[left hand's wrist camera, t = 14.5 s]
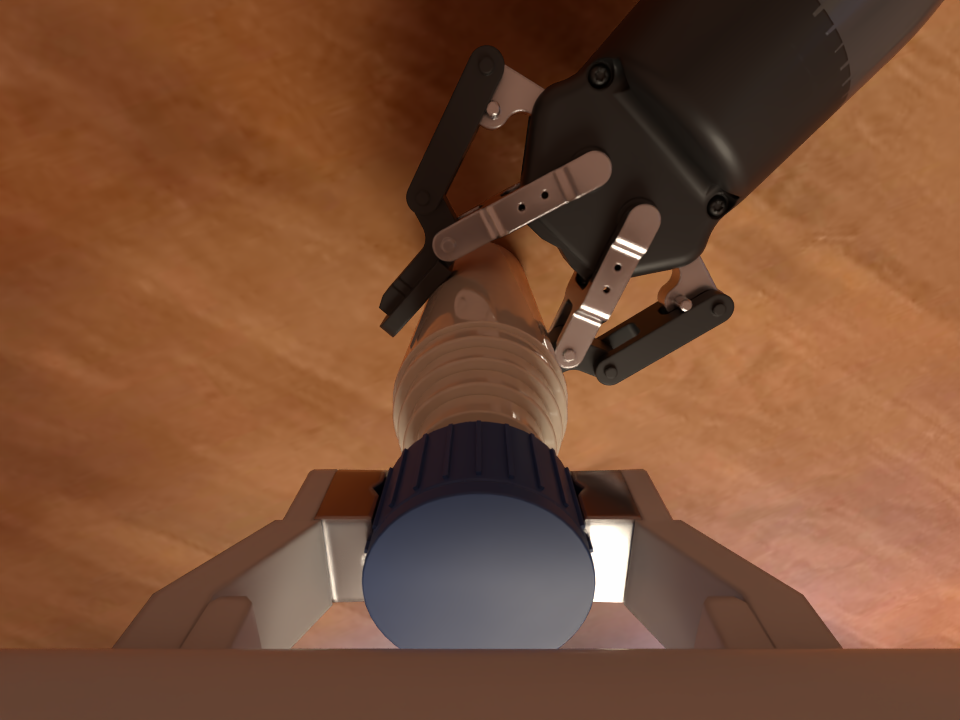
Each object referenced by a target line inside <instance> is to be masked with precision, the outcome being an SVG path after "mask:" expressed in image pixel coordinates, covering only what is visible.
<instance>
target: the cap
mask: <svg viewBox="0 0 960 720" xmlns="http://www.w3.org/2000/svg"><path fill="white" fill-rule="evenodd" d="M584 528H586V527H585V523H584V520H583V516H582V513H581V509H580V506H579V502H578V499H577V495H576V492H575V488H574V485H573V481H572V478H571V474H570V471H569V469H568V467H566V468H565V467H564V465H563V464H562V462H561V461H560V459H559V458H558V457H557V456H556V452H555V450H554V449H553V448H551V449H550V448H549V447H548V446H547V445H546V444H544V443H543V442H542V441H541V440H539V439H538V438H536V437H535V435H534V434H532V433H530V434H529V433H527V432H525V431H523V430H520V429H518V428H515V427H513V426H509V424H506V423H505V424H501V423H495V422H487V421H481V420H477V421H469V422H462V423H457V424H453V423H452V424H448V426H446V427H443V428H440V429H437V430H435V431H432V432H430V433H429V434H427V433H425V434H424V435H423V437H422V438H421V439H419V440H418V441H416V442H415V443H414V444H412V445H411V446H410V447H409V448H408V449H406V448H405V449H404V450H403V451H402V455H401V457H400V458H399V459H398V461H397V462H396V464H395V465H394V467H393V468H391V467H390V468H389V470H388V474H387V477H386V481H385V484H384V488H383V491H382V494H381V498H380V501H379V505H378V508H377V511H376V515H375V518H374V522H373V525H372V529H374V530H373V534H372V537H371V541H367V542H366V545H365V549H364V553H367V555H366V558H365V562H364V566H363V571H362V592H363V596H364V600H365V604H366V607H367V609H368V612H369V614H370V616H371V618H372V619H373V621H374V623H375V624H376V626H377V627H378V628H379V630H380V631H381V632H382V633H383V634H384V636H385V637H386V638H388V639H389V640H390V641H391V642H392V643H393V644H394V645H395V646H397V647H398V648H400V649H558V648H560V647H561V646H562V645H563V644H564V643H566V642H567V641H568V640H569V639H570V638H571V637H572V636H573V635H574V634H575V633H576V632H577V631H578V629H579V628H580V627H581V625H582V624H583V622H584V621H585V619H586V617H587V615H588V613H589V611H590V609H591V606H592V602H593V599H594V595H595V587H596V574H595V568H594V563H593V559H592V556H591V553H593V552H594V551H593V546H592V543H591V541H587V538H586V534H585V532H584Z"/></svg>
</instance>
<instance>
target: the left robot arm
mask: <svg viewBox="0 0 960 720" xmlns="http://www.w3.org/2000/svg"><path fill="white" fill-rule="evenodd" d="M387 474H388V471H387V470H337V469H314V470H312V471H310V472H309V474H308V475H307V477H306V479H305V481H304V483H303V485H302V486H301V488H300V490H299V492H298V494H297V495H296V497H295V499H294V501H293V503H292V504H291V506H290V508H289V510H288V512H287V514H286V515H285V517H284V519H283V520H275V521H273V522H271V523H270V524H268V525H267V526H265V527H263V528H262V529H260V530H258V531H257V532H255V533H253V534H252V535H250V536H248V537H247V538H245V539H243V540H242V541H240V542H238V543H237V544H235V545H233V546H232V547H230V548H228V549H227V550H225V551H223V552H222V553H220V554H219V555H217V556H215V557H214V558H212V559H210V560H209V561H207V562H205V563H204V564H202V565H200V566H199V567H197V568H195V569H194V570H192V571H190V572H189V573H187V574H185V575H184V576H182V577H180V578H179V579H177V580H175V581H174V582H172V583H171V584H169V585H167V586H166V587H164V588H162V589H161V590H159V591H157V592H156V593H154V594H153V595H152V596H151V597H150V599H149V600H148V601H147V603H146V604H145V605H144V607H143V608H142V609H141V611H140V612H139V613H138V615H137V616H136V617H135V619H134V620H133V621H132V622H131V624H130V625H129V626H128V628H127V629H126V630H125V632H124V633H123V634H122V636H121V637H120V638H119V640H118V641H117V642H116V644H115V645H114V646H113V648H112V649H0V720H960V649H843V648H842V647H841V645H840V644H839V643H838V641H837V640H836V638H835V637H834V636H833V634H832V633H831V632H830V630H829V629H828V628H827V626H826V625H825V624H824V622H823V621H822V620H821V618H820V617H819V616H818V614H817V613H816V611H815V610H814V609H813V607H812V606H811V605H810V603H809V602H808V601H807V599H806V598H805V597H804V595H803V594H801V593H799V592H798V591H796V590H794V589H793V588H791V587H789V586H788V585H786V584H785V583H783V582H781V581H780V580H778V579H776V578H775V577H773V576H771V575H770V574H768V573H767V572H765V571H763V570H762V569H760V568H758V567H757V566H755V565H753V564H752V563H750V562H749V561H747V560H745V559H744V558H742V557H740V556H739V555H737V554H735V553H734V552H732V551H731V550H729V549H727V548H726V547H724V546H722V545H721V544H719V543H717V542H716V541H714V540H713V539H711V538H709V537H708V536H706V535H704V534H703V533H701V532H699V531H698V530H696V529H695V528H693V527H691V526H690V525H688V524H686V523H685V522H683V521H681V520H673V519H672V517H671V515H670V513H669V511H668V509H667V508H666V506H665V504H664V502H663V500H662V499H661V497H660V495H659V493H658V491H657V489H656V488H655V486H654V484H653V482H652V480H651V478H650V477H649V475H648V473H647V471H645V470H644V469H630V470H605V471H570V474H571V478H572V481H573V485H574V488H575V492H576V495H577V499H578V502H579V506H580V509H581V513H582V516H583V520H584V523H585V527H586V528H584V532H585V534H586V538H587V541H591V543H592V546H593V551H594V552H593V553H591V556H592V559H593V563H594V568H595V574H596V587H595V595H594V599H593V602H624V605H625V606H626V607H627V608H628V609H629V610H630V611H631V612H632V613H633V615H634V616H635V617H636V618H637V619H638V620H639V621H640V622H641V623H642V624H643V625H644V626H645V627H646V628H647V629H648V630H649V631H650V632H651V633H652V634H653V635H654V637H655V638H656V639H657V640H658V641H659V642H660V643H661V644H662V645H663V646H664V647H665V648H666V649H290V648H291V647H292V646H293V645H294V644H295V643H296V642H297V641H298V640H299V639H300V638H301V637H302V636H303V635H304V634H305V633H306V632H307V631H308V630H309V629H310V628H311V627H312V626H313V625H314V624H315V623H316V622H317V620H318V619H319V618H320V617H321V616H322V615H323V614H324V613H325V612H326V611H327V610H328V609H329V608H330V607H331V606H332V602H362V601H365V600H364V596H363V592H362V571H363V566H364V562H365V558H366V555H367V553H364V549H365V545H366V542H367V541H371V537H372V534H373V530H374V529H372V525H373V522H374V518H375V515H376V511H377V508H378V505H379V501H380V498H381V494H382V491H383V488H384V484H385V481H386V477H387Z"/></svg>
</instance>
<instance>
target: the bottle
mask: <svg viewBox="0 0 960 720" xmlns="http://www.w3.org/2000/svg"><path fill="white" fill-rule="evenodd" d="M454 262H455V263H454V267H453V271H452V273H451V274H450V275H449V276H448V278H447V279H446V280H445V281H444V282H443V283H442V284H441V285H440V286H439V287H438V288H437V289H436V290H435V291H434V292H433V294H432V295H431V296H430V298H429V299H428V300H427V301H426V304H425V306H424V309H423V311H422V314H421V316H420V319H419V321H418V324H417V326H416V329H415V331H414V334H413V336H412V339H411V341H410V344H409V346H408V349H407V351H406V354H405V356H404V359H403V361H402V364H401V366H400V369H399V371H398V374H397V377H396V380H395V385H394V390H393V423H394V429H395V432H396V436H397V438H398V441H399V445H400V449H401V452H402V451H403V450H404V449H405V448H406V449H408V448H409V447H410V446H411V445H412V444H414V443H415V442H416V441H418V440H419V439H421V438H422V437H423V435H424V434H425V433H427V434H429V433H430V432H432V431H435V430H437V429H440V428H443V427H446V426H448V424H452V423H453V424H457V423H462V422H469V421H477V420H481V421H487V422H495V423H501V424H505V423H506V424H509V426H513V427H515V428H518V429H520V430H523V431H525V432H527V433H529V434H530V433H532V434H534V435H535V437H536V438H538V439H539V440H541V441H542V442H543V443H544V444H546V445H547V446H548V447H549V448H550V449H551V448H553V449H554V450H555V452H556V456H558V453H559V450H560V447H561V442H562V440H563V437H564V434H565V431H566V426H567V420H568V408H567V407H568V393H567V386H566V382H565V378H564V375H563V372H562V370H561V367H560V364H559V362H558V359H557V357H556V354H555V351H554V349H553V346H552V343H551V341H550V338H549V336H548V333H547V330H546V328H545V325H544V322H543V320H542V317H541V315H540V312H539V309H538V307H537V304H536V301H535V299H534V296H533V293H532V291H531V288H530V286H529V283H528V280H527V278H526V275H525V272H524V270H523V268H522V266H521V264H520V262H519V261H518V259H517V258H516V257H515V256H514V255H513V254H512V253H511V252H510V251H508V250H507V249H506V248H504V247H502V246H500V245H497V244H495V243H491V242H489V243H487V244H485V245H483V246H481V247H479V248H477V249H475V250H474V251H472V252H470V253H468V254H466V255H464V256H462V257H460V258H458V259H457V260H455V261H454Z"/></svg>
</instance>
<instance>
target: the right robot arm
mask: <svg viewBox="0 0 960 720" xmlns="http://www.w3.org/2000/svg"><path fill="white" fill-rule="evenodd" d="M943 1H944V0H640V1H639V2H638V3H637V4H636V6H635V7H634V8H633V9H632V10H631V11H630V12H629V14H628V15H627V16H626V17H625V18H624V19H623V21H622V22H621V23H620V24H619V25H618V26H617V28H616V29H615V30H614V31H613V32H612V33H611V34H610V36H609V37H608V38H607V39H606V40H605V41H604V43H603V44H602V45H601V46H600V47H599V48H598V50H597V51H596V52H595V53H594V54H593V55H592V56H591V58H590V59H589V60H588V61H587V62H586V63H585V65H584V66H583V67H582V68H581V69H580V70H579V71H578V72H577V73H576V74H575V75H573V76H571V77H570V78H568V79H565V80H563V81H560V82H557V83H555V84H552V85H550V86H549V87H547V88H546V89H543V88H542V87H540V86H539V85H537V84H535V83H534V82H532V81H531V80H529V79H527V78H526V77H524V76H523V75H521V74H519V73H518V72H516V71H515V70H513V69H511V68H510V67H508V66H507V65H505V64H504V59H503V56H502V54H501V53H500V52H499V50H497V49H496V48H495V47H492V46H489V45H484V46H481V47H479V48H477V49H476V50H475V51H474V52H473V53H472V55H471V56H470V58H469V61H468V63H467V65H466V67H465V69H464V71H463V73H462V76H461V78H460V80H459V82H458V84H457V86H456V88H455V90H454V93H453V95H452V97H451V99H450V101H449V103H448V105H447V107H446V110H445V112H444V114H443V116H442V118H441V120H440V122H439V125H438V127H437V129H436V131H435V133H434V135H433V137H432V139H431V142H430V144H429V146H428V148H427V150H426V152H425V154H424V157H423V159H422V161H421V163H420V165H419V167H418V169H417V171H416V174H415V176H414V178H413V180H412V182H411V184H410V186H409V188H408V191H407V195H406V199H407V204H408V206H409V207H410V209H411V210H412V211H413V212H415V214H416V216H417V218H418V220H419V221H420V223H421V225H422V227H423V229H424V232H425V237H426V239H425V245H424V247H423V248H422V250H421V251H420V252H419V253H418V254H417V255H416V257H415V258H414V259H413V260H412V261H411V262H410V263H409V265H408V266H407V267H406V268H405V269H404V270H403V272H402V273H401V274H400V275H399V276H398V277H397V279H396V280H395V281H394V282H393V283H392V284H391V285H390V287H389V288H388V289H387V291H386V292H385V293H384V295H383V297H382V300H381V303H380V306H379V308H380V309H381V310H382V311H383V312H385V313H386V314H387V315H386V317H385V318H384V320H383V322H382V323H381V325H380V327H381V328H382V329H383V330H385V331H386V332H387V333H388V334H389V335H391V336H392V337H394V336H395V335H396V334H397V333H398V332H399V331H400V330H401V329H402V328H403V326H404V325H405V324H406V323H407V322H408V321H409V320H410V319H411V318H412V316H413V315H414V314H415V313H416V312H417V311H418V310H419V309H420V308H421V306H422V305H423V304H424V303H425V302H426V301H427V300H428V299H429V298H430V296H431V295H432V294H433V292H434V291H435V290H436V289H437V288H438V287H439V286H440V285H441V284H442V283H443V282H444V281H445V280H446V279H447V278H448V276H449V275H450V274H451V273H452V271H453V267H454V263H455V262H454V261H455V260H457V259H458V258H460V257H462V256H464V255H466V254H468V253H470V252H472V251H474V250H475V249H477V248H479V247H481V246H483V245H485V244H487V243H489V242H491V241H492V240H495V239H497V238H501V237H503V236H506V235H508V234H510V233H512V232H513V231H515V230H517V229H519V228H521V227H523V226H525V225H528V226H529V227H530V228H531V229H532V230H533V231H534V232H535V233H537V234H538V235H539V236H540V237H541V238H542V239H543V240H545V241H547V242H549V243H551V244H553V245H554V246H556V247H558V249H559V251H560V253H561V254H562V256H563V258H564V259H565V260H566V261H567V263H568V264H569V265H570V266H571V267H572V268H573V269H574V270H575V271H574V273H573V275H572V277H571V279H570V281H569V283H568V286H567V288H566V292H565V297H564V300H563V302H562V304H561V306H560V308H559V310H558V312H557V315H556V317H555V319H554V321H553V323H552V325H551V327H550V329H549V331H548V336H549V338H550V341H551V343H552V346H553V349H554V351H555V354H556V357H557V359H558V362H559V364H560V367H561V370H562V372H565V371H568V370H580V371H582V372H585V373H587V374H590V375H593V376H595V377H597V379H598V380H599V382H601V383H602V384H604V385H615V384H617V383H619V382H621V381H622V380H624V379H626V378H627V377H629V376H631V375H633V374H634V373H636V372H638V371H640V370H641V369H643V368H645V367H647V366H648V365H650V364H652V363H654V362H655V361H657V360H659V359H660V358H662V357H664V356H666V355H667V354H669V353H671V352H673V351H674V350H676V349H678V348H680V347H681V346H683V345H685V344H687V343H688V342H690V341H692V340H693V339H695V338H697V337H699V336H700V335H702V334H704V333H706V332H707V331H709V330H711V329H713V328H714V327H716V326H718V325H720V324H721V323H723V322H725V321H726V320H728V319H729V318H730V317H731V315H732V313H733V311H734V302H733V300H732V299H731V298H730V297H729V296H727V295H726V294H724V293H723V292H722V291H720V290H718V289H717V288H716V286H715V284H714V282H713V280H712V278H711V276H710V274H709V272H708V270H707V268H706V266H705V264H704V262H703V260H702V258H701V257H700V255H701V254H702V252H703V251H704V249H705V247H706V244H707V242H708V239H709V236H710V234H711V232H712V230H713V229H714V227H715V226H716V224H717V223H718V221H719V220H720V219H721V218H722V217H723V216H724V215H726V214H727V213H728V212H729V211H730V210H732V209H733V208H734V207H735V206H737V205H738V204H739V203H740V202H741V201H743V200H744V199H745V198H746V197H747V196H748V195H749V194H750V193H751V192H752V191H753V190H754V189H755V188H756V187H757V186H758V185H759V184H761V183H762V182H763V181H764V180H765V179H766V178H767V177H768V176H769V175H770V174H771V173H772V172H773V171H774V170H775V169H776V168H777V167H778V166H779V165H780V164H782V163H783V162H784V161H785V160H786V159H787V158H788V157H789V156H790V155H791V154H792V153H793V152H794V151H795V150H796V149H797V148H798V147H799V146H800V145H801V144H803V143H804V142H805V141H806V140H807V139H808V138H809V137H810V136H811V135H812V134H813V133H814V132H815V131H816V130H817V129H818V128H819V127H820V126H821V125H822V124H824V123H825V122H826V121H827V120H828V119H829V118H830V117H831V116H832V115H833V114H834V113H835V112H836V111H837V110H838V109H839V108H840V107H841V106H842V105H843V104H844V103H846V102H847V101H848V100H849V99H850V98H851V97H852V96H853V95H854V94H855V93H856V92H857V91H858V90H859V89H860V88H861V87H862V86H863V85H864V84H865V83H866V82H868V81H869V80H870V79H871V78H872V77H873V76H874V75H875V74H876V73H877V72H878V71H879V70H880V69H881V68H882V67H883V66H884V65H885V64H886V63H887V62H888V61H890V60H891V59H892V58H893V57H894V56H895V55H896V54H897V53H898V52H899V51H900V50H901V49H902V48H903V47H904V46H905V45H906V44H907V43H908V42H909V41H910V40H911V39H912V38H913V36H914V35H915V34H916V33H917V32H918V31H919V30H920V29H921V27H922V26H923V25H924V24H925V23H926V22H927V21H928V19H929V18H930V17H931V16H932V15H933V13H934V12H935V11H936V10H937V8H938V7H939V6H940V5H941V4H942V2H943ZM515 114H525V115H528V116H529V120H528V128H527V135H526V143H525V150H524V158H523V165H522V172H521V180H520V182H518V183H516V184H515V185H513V186H511V187H509V188H507V189H505V190H504V191H502V192H500V193H498V194H496V195H494V196H493V197H491V198H489V199H487V200H486V201H484V202H483V203H481V204H480V205H478V206H476V207H474V208H472V209H470V210H469V211H467V212H465V213H463V214H461V215H459V216H458V217H457V216H456V214H455V213H454V211H453V209H452V207H451V205H450V203H449V201H448V199H447V197H446V194H447V192H448V190H449V187H450V185H451V183H452V181H453V179H454V177H455V175H456V173H457V171H458V169H459V167H460V165H461V163H462V161H463V159H464V157H465V155H466V153H467V151H468V149H469V147H470V145H471V143H472V141H473V139H474V137H475V135H476V133H477V131H478V129H479V127H480V126H481V127H483V128H485V129H487V130H497V129H499V128H501V127H502V126H503V125H504V124H505V122H506V121H507V120H508V119H509V118H510V117H511V116H513V115H515ZM671 269H672V276H671V278H670V280H669V281H668V282H667V283H666V284H665V285H663V286H662V287H661V289H660V290H659V292H658V302H656V303H654V304H653V305H651V306H649V307H648V308H646V309H644V310H643V311H641V312H639V313H638V314H636V315H634V316H633V317H631V318H629V319H628V320H626V321H624V322H623V323H621V324H619V325H618V326H616V327H614V328H613V329H611V330H609V331H608V332H606V333H604V334H603V335H601V336H599V337H598V338H594V337H595V335H596V333H597V332H598V330H599V328H600V326H601V325H602V323H604V322H606V321H607V320H608V319H609V317H610V316H611V314H612V312H613V310H614V308H615V306H616V304H617V302H618V300H619V299H620V297H621V295H622V293H623V291H624V289H625V287H626V285H627V283H628V281H629V279H630V278H631V277H636V276H641V275H646V274H651V273H656V272H661V271H666V270H671ZM605 287H607V288H606V289H605V290H603V289H604V288H605Z"/></svg>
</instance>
